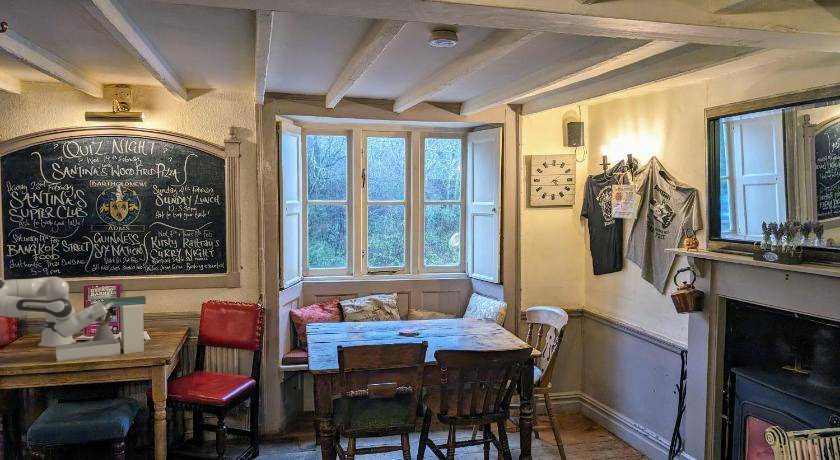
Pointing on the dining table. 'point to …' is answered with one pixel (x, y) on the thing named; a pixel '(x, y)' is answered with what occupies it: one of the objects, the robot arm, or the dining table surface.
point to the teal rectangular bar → (126, 301)
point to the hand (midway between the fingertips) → (112, 301)
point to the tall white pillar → (132, 328)
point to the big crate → (87, 350)
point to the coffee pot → (103, 330)
